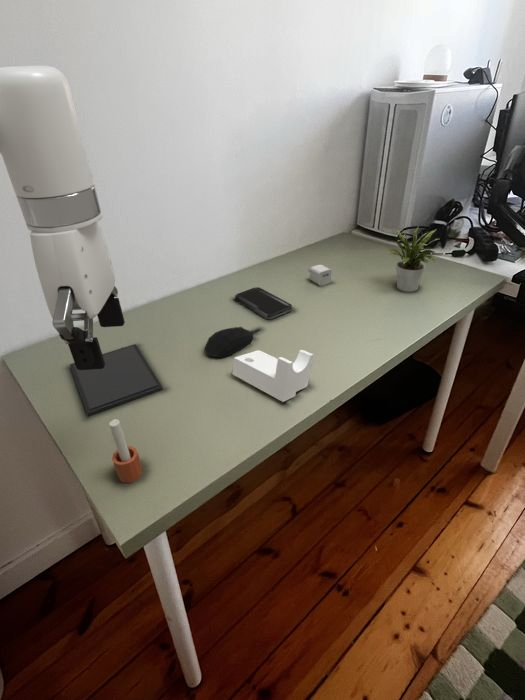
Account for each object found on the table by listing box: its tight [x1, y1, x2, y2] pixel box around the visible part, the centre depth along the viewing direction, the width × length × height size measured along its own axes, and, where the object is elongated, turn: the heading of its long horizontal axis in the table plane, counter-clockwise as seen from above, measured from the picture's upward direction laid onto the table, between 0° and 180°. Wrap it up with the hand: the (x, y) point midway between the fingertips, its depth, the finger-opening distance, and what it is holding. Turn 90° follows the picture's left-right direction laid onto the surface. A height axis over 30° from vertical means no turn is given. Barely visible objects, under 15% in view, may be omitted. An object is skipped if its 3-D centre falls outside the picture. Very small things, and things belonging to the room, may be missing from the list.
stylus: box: [108, 418, 131, 462], centre depth 63 cm, size 1×1×10 cm
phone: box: [234, 286, 293, 320], centre depth 109 cm, size 8×1×15 cm
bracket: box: [231, 349, 314, 403], centre depth 82 cm, size 13×7×8 cm, turn 47°
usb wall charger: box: [307, 263, 333, 287], centre depth 119 cm, size 4×7×4 cm, turn 29°
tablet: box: [69, 343, 164, 417], centre depth 86 cm, size 14×18×1 cm
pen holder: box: [111, 445, 143, 484], centre depth 65 cm, size 4×4×4 cm
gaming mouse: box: [204, 326, 261, 358], centre depth 94 cm, size 6×15×4 cm, turn 134°
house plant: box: [384, 225, 439, 293], centre depth 109 cm, size 14×14×16 cm
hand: (103, 345), depth 54 cm, fingers open, 9 cm apart
